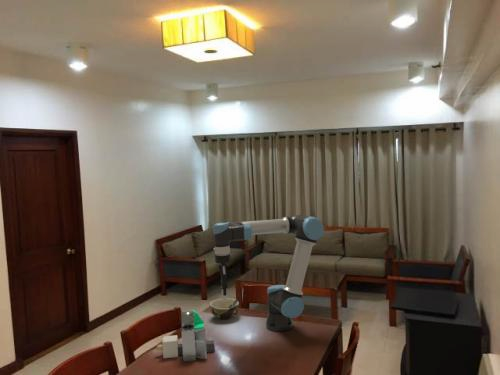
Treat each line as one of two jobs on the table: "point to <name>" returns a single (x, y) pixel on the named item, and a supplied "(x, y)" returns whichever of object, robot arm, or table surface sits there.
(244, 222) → the robot arm
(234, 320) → the table surface
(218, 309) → the bowl
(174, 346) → the grey beam
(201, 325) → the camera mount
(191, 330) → the housing
